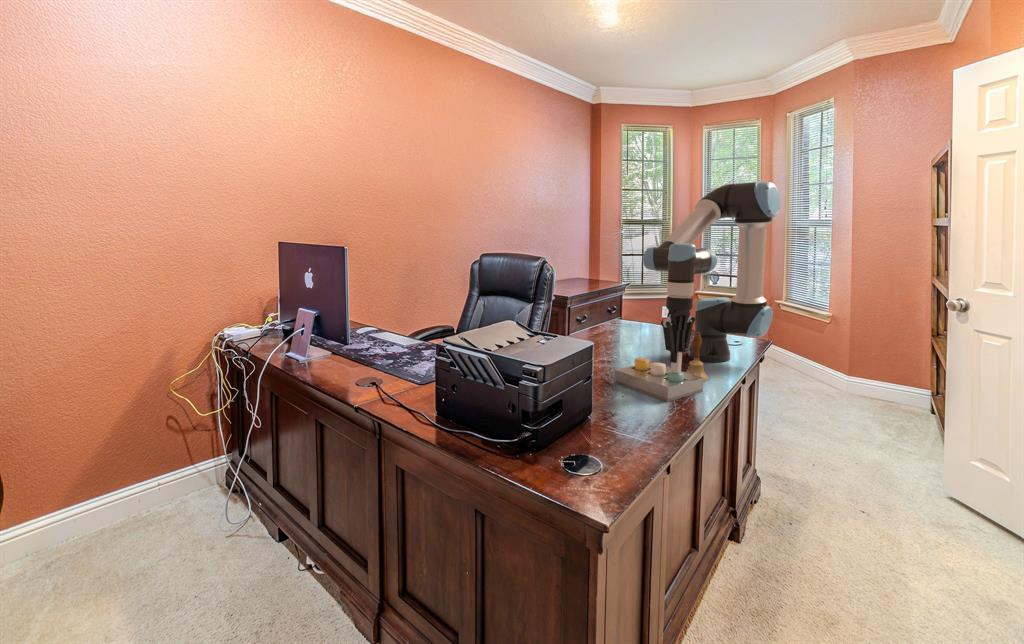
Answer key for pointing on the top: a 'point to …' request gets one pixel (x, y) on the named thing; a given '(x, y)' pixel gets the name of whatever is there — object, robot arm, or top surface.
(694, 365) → the hand bell
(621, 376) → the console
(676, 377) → the teal button
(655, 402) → the top surface
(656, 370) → the ivory button
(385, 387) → the top surface
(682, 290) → the robot arm
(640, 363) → the amber button
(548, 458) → the top surface
